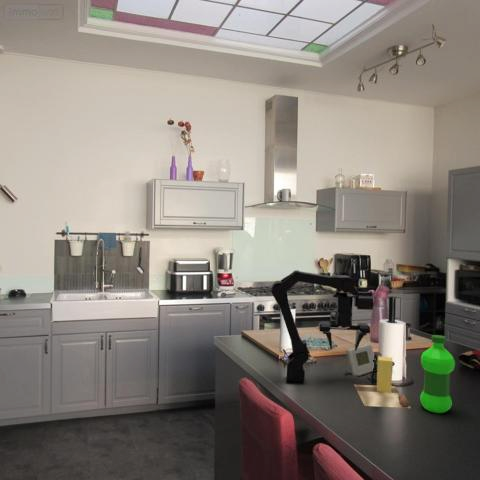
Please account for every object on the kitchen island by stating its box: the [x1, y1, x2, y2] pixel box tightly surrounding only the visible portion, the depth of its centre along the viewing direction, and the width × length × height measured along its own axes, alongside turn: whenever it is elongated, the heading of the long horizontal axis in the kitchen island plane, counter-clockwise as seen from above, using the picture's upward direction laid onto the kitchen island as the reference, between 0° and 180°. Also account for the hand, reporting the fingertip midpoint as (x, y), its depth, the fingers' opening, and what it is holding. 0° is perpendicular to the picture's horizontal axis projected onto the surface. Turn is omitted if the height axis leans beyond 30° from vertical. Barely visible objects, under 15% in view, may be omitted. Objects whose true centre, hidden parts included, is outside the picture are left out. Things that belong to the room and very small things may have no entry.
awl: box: [397, 391, 410, 407], centre depth 169 cm, size 2×10×2 cm, turn 177°
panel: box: [353, 384, 411, 409], centre depth 175 cm, size 15×21×1 cm
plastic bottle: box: [419, 334, 456, 414], centre depth 163 cm, size 10×10×25 cm
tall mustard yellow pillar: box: [376, 356, 394, 393], centre depth 180 cm, size 5×5×12 cm
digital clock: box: [346, 343, 375, 377], centre depth 203 cm, size 16×9×11 cm, turn 120°
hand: (343, 349), depth 188 cm, fingers open, 9 cm apart
